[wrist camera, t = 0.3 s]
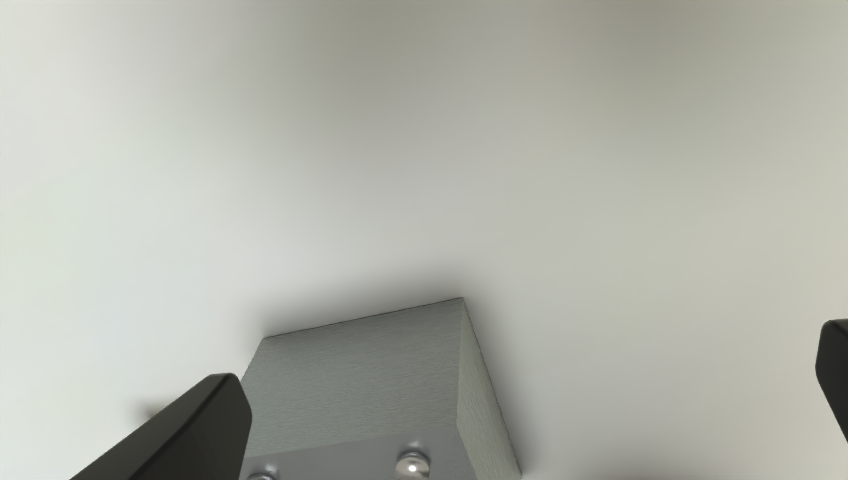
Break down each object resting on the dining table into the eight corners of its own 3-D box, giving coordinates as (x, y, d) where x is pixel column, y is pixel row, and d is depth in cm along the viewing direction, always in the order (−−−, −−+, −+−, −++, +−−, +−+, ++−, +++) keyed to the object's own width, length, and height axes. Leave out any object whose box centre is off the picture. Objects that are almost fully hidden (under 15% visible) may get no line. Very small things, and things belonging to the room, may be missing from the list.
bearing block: (462, 297, 26) (456, 434, 19) (521, 476, 31) (533, 632, 24) (262, 338, 28) (192, 474, 21) (350, 498, 33) (316, 648, 26)
